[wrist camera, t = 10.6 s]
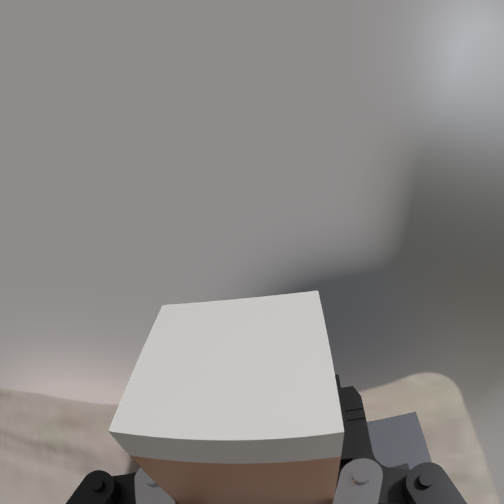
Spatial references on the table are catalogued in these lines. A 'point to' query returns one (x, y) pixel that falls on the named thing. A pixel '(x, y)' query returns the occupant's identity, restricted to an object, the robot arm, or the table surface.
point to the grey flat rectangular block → (398, 441)
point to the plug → (236, 403)
